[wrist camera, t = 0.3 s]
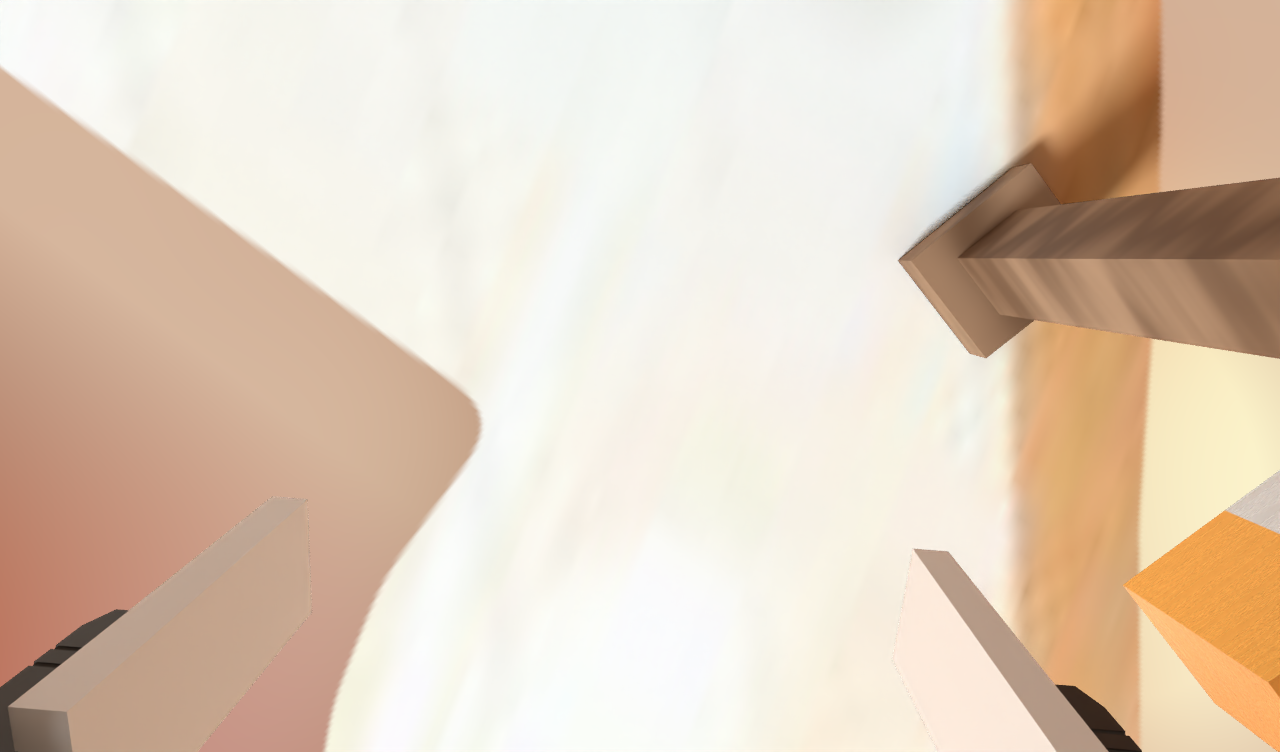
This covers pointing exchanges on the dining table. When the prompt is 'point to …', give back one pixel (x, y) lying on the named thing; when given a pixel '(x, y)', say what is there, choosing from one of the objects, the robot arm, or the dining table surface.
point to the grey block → (1226, 607)
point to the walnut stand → (1109, 264)
